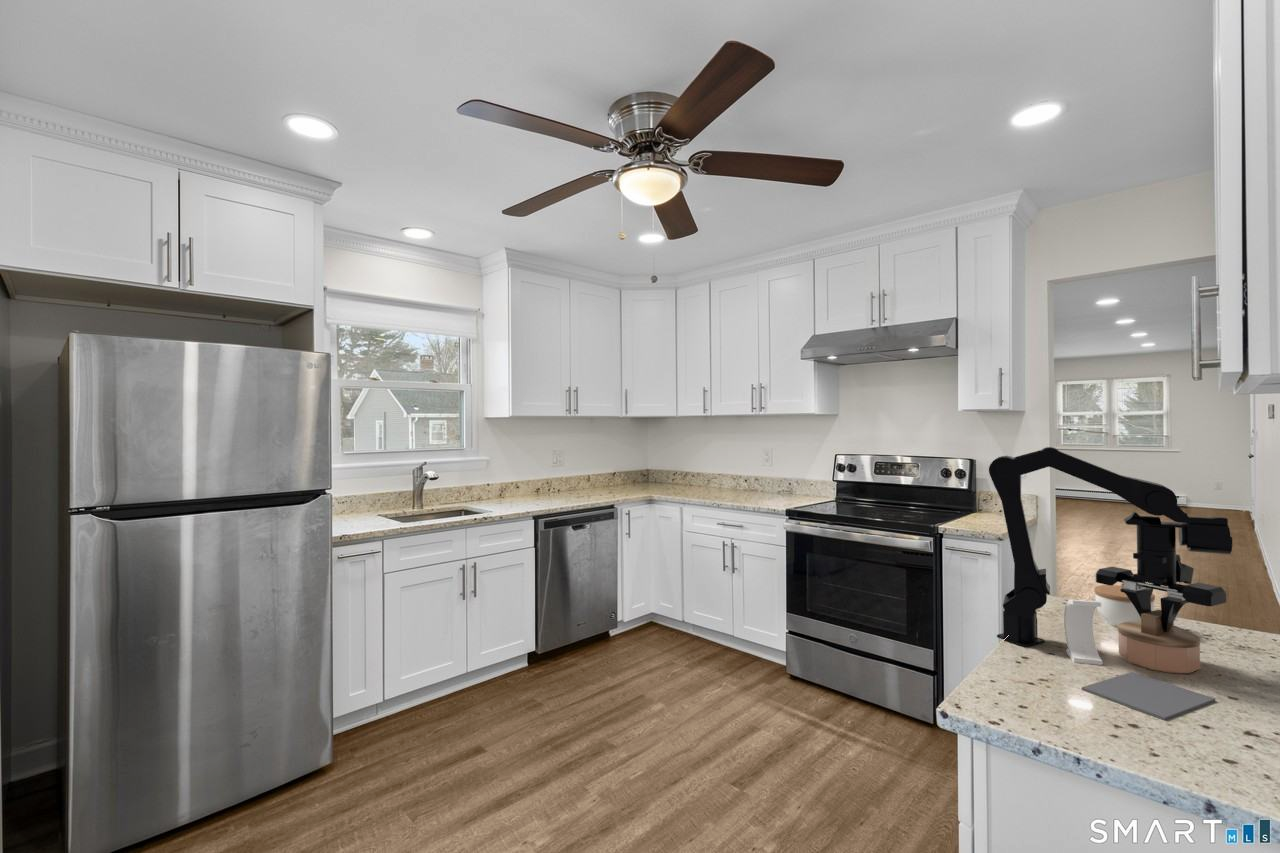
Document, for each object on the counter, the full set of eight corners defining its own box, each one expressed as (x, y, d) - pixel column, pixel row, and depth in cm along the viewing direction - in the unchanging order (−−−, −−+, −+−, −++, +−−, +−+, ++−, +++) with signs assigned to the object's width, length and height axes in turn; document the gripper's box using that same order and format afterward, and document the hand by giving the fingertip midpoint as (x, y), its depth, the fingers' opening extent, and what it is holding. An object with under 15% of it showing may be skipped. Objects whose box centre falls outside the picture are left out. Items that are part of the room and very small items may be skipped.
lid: (1178, 652, 107) (1177, 627, 107) (1104, 631, 118) (1103, 609, 118) (1213, 641, 112) (1213, 617, 112) (1139, 622, 123) (1139, 601, 123)
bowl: (1177, 678, 108) (1176, 650, 108) (1109, 657, 118) (1108, 631, 118) (1209, 667, 112) (1209, 640, 112) (1141, 647, 123) (1140, 623, 123)
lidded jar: (1084, 621, 139) (1084, 581, 139) (1111, 614, 143) (1110, 575, 143) (1139, 636, 129) (1138, 593, 129) (1165, 628, 134) (1164, 586, 134)
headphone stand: (1073, 662, 116) (1072, 600, 116) (1064, 651, 122) (1063, 592, 122) (1102, 665, 114) (1101, 602, 114) (1092, 653, 120) (1090, 594, 120)
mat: (1164, 720, 93) (1164, 717, 93) (1081, 689, 104) (1081, 687, 104) (1215, 700, 99) (1215, 698, 99) (1132, 673, 110) (1132, 671, 110)
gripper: (1241, 553, 110) (1242, 638, 110) (1125, 537, 127) (1126, 610, 127) (1209, 560, 105) (1210, 648, 106) (1093, 541, 123) (1094, 617, 123)
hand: (1157, 629), depth 115 cm, fingers open, 3 cm apart
